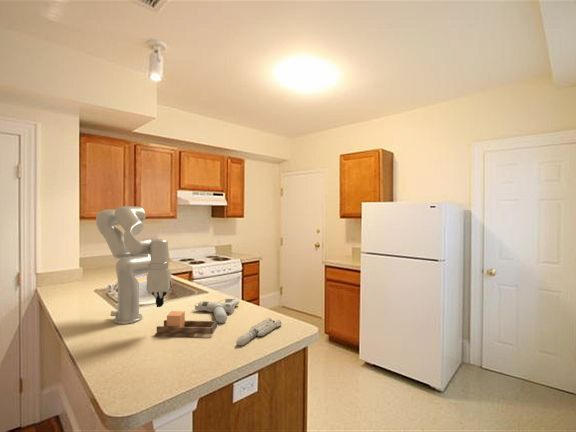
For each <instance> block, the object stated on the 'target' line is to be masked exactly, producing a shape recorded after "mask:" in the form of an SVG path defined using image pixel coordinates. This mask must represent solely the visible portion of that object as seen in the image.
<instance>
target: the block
mask: <svg viewBox="0 0 576 432" xmlns="http://www.w3.org/2000/svg"><path fill="white" fill-rule="evenodd" d="M185 313H186V312H185V311H184V310H183V311H182V310H181V311H180V310H171V312H169V313H168V314H167V315H166V320H167V326H172V327H184V326H185V321H186V320H185V319H186V317H185V316H186V315H185Z"/></svg>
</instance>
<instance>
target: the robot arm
mask: <svg viewBox="0 0 576 432" xmlns="http://www.w3.org/2000/svg"><path fill="white" fill-rule="evenodd" d="M146 215H147V214H146V211H145V210H144V208H142V207H141V206H137V205H136V206H133V205H132V206H129V205H124V206H120V207H117V208H116V209H104V210H101V211H99V212H98V213H97V214H96V216H95V222H96V227H97V230H98V231H99V233H100V235H102V236H103V238H104V239H105V241H106V244H107V246H108V248H109V250H110V252H111V254H112V256H113V257H114V258H115V259H117V262H116V263H115V271H116V277H117V310H112V311H110V317H115V318H114V319H113V322H114V324H118V325H129V324H133V323H137V322H139V321H141V320H142V319H143V315H142V313H141V314H140V283H139V281H138V279H137V278H136V276H137V275H138V276H139V275H144V274H147V276H146V285H145V288H146V292H147V294H149V295H152V296H153V297H154V298H155V305H156V308H161V307H162V306H164V302H165V301H164V297H165V296H166V295H169V294H171V293H172V292H173V291H172V288H173V287H172V286H173V285H172V284H173V283H172V281H173V280H172V273H171V270H170V268H169V242H168V240H167V239H165V238H164V239H162V238H158V237H153V238H151V237H150V238H136V237H135V236H137V235H139V234H140V233H141V232H142V231H143V229H144V223H143V222H144V221H145V220H146ZM116 226H121V227H122V228H123V230H124V231H125V232H124V233H123V232H122V230H120V229H119V228H117V227H116Z"/></svg>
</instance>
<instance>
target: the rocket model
mask: <svg viewBox="0 0 576 432" xmlns="http://www.w3.org/2000/svg"><path fill="white" fill-rule="evenodd" d="M281 326H282V321H281V320H280V319H276V320H272V318H270V317H267V318H266V319H265V320H262V321H261V322H259V323H257V324H255V325H253V326H252V327H250V328H249V330H248V332H246V333H244V334H242V335H240V336H239V337H237V339H236V341H235V343H236V346H244V345H245V344H247V343H249V342H250V341H251V340H252V339H254V338H256V337H257V336H258V337H263V336H265V335H267V334H268V333H270V332H271V331H273V330H274V329H277V328H278V327H281Z"/></svg>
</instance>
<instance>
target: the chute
mask: <svg viewBox="0 0 576 432" xmlns="http://www.w3.org/2000/svg"><path fill="white" fill-rule="evenodd" d="M218 327H219V326H218V322H217V321H216V320H213V321H212V320H185V326H184V327H172V326H167V319H164V320H163V325H160V326H159V325H158V326H156V333H155V334H154V337H166V338H167V337H169V338H171V337H172V338H212V337H213V335H214V334H215V333H216V331H217V329H218Z"/></svg>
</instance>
